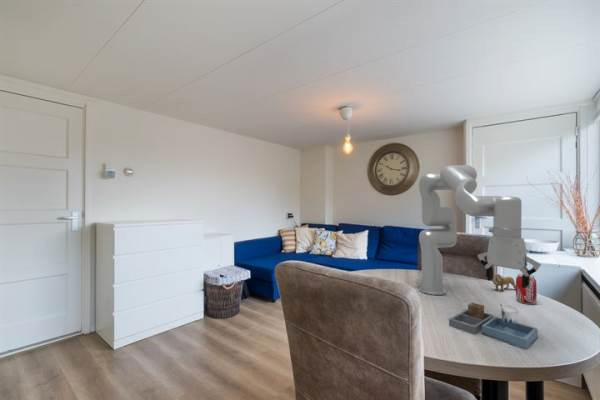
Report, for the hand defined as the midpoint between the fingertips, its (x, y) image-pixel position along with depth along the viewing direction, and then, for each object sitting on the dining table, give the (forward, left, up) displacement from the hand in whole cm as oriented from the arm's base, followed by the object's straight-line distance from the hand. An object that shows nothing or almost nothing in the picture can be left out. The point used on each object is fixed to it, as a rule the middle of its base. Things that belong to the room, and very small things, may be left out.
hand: (506, 283), depth 91 cm
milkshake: (0, 0, -17) cm, 17 cm away
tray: (+1, 0, -18) cm, 18 cm away
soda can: (-5, +42, -18) cm, 46 cm away
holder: (-11, 0, -18) cm, 21 cm away
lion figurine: (-17, +53, -18) cm, 58 cm away
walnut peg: (-11, +4, -18) cm, 21 cm away
